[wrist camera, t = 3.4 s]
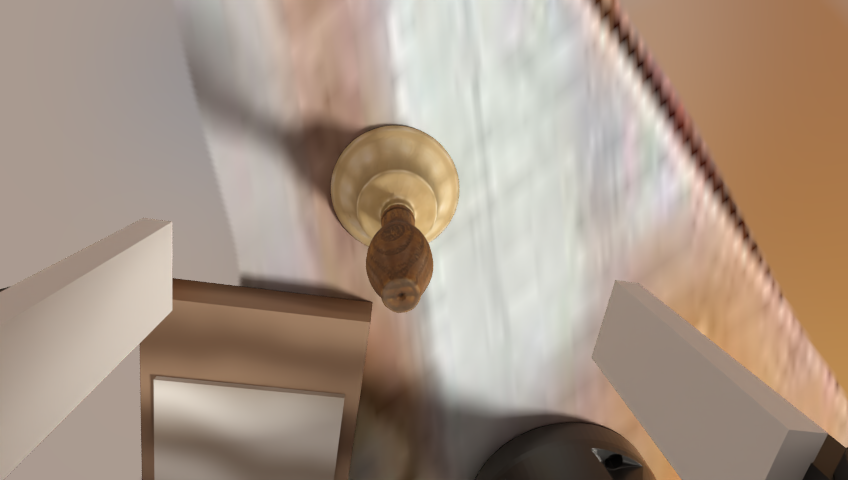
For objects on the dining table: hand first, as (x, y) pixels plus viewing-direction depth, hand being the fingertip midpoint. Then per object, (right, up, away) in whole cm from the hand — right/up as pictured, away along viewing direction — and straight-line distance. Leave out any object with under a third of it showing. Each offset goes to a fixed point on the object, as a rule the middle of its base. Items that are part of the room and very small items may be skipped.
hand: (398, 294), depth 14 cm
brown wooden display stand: (-11, -10, +20) cm, 25 cm away
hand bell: (-1, +5, +17) cm, 17 cm away
